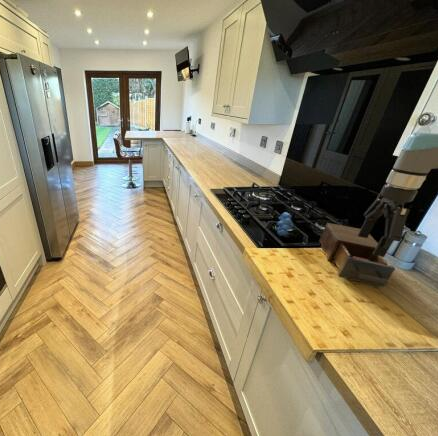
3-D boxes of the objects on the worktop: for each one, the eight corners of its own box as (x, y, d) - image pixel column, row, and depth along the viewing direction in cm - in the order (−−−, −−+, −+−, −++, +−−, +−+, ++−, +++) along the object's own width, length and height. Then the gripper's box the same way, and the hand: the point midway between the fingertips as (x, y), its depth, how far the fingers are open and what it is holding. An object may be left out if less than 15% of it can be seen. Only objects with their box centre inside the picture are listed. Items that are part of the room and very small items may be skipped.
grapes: (293, 243, 104) (302, 219, 98) (276, 240, 105) (285, 216, 100) (286, 231, 114) (295, 208, 109) (271, 228, 115) (279, 206, 110)
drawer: (390, 297, 75) (404, 278, 71) (343, 285, 79) (354, 267, 75) (366, 263, 91) (375, 246, 88) (328, 254, 95) (336, 238, 92)
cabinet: (370, 270, 89) (383, 248, 84) (327, 260, 93) (337, 239, 89) (355, 249, 102) (365, 229, 98) (318, 241, 106) (327, 222, 102)
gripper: (445, 201, 60) (402, 268, 70) (396, 178, 81) (368, 232, 90) (407, 197, 63) (371, 262, 72) (369, 175, 83) (345, 228, 93)
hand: (369, 245), depth 81 cm, fingers open, 12 cm apart
